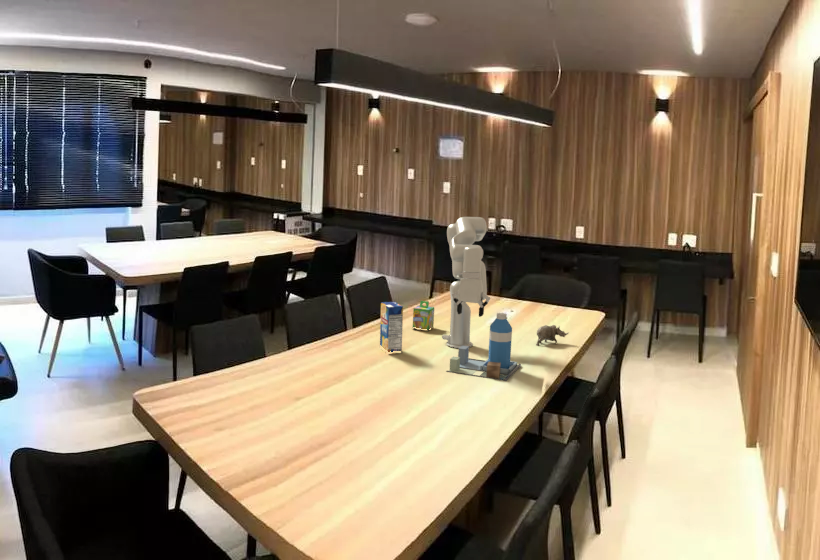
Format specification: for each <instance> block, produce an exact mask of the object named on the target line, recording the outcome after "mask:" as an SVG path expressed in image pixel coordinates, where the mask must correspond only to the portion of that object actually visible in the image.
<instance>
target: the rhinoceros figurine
mask: <svg viewBox="0 0 820 560" xmlns="http://www.w3.org/2000/svg"><path fill="white" fill-rule="evenodd" d="M560 327H561V326H558V327H557V325H554V324H552V325H546V324H545V325H543V326H540V327H538V328H537V330H536V336H537V337H538V339H537V342H536V344H535V346H538V347H540V346H539V345H540V344H543V343H542V342H543V341H544V343H547V342H548V341H549V342H550V341H551V342H554V344H555V343H557V344H558V340H557V339H556V336H559V337H563V338H565V337H566V336H567V335H569V333H570V332H565V331H564V330H561V329H560Z"/></svg>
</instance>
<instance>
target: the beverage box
mask: <svg viewBox="0 0 820 560" xmlns="http://www.w3.org/2000/svg"><path fill="white" fill-rule="evenodd" d="M403 313H404V306H403V305H401V304H399V303H398V302H397V301H383V302H380V324H379V325H380V328H379V330H380V331H379V334H380V335H379V337H380V338H379V346H380V345H381V346H382V347H383V348H384V349H385V350H387V351H388V352H390V351H391V352H393V351H402V350H403V325H404V324H403V320H404V319H403V318H404V317H403V315H404V314H403ZM402 352H403V351H402Z"/></svg>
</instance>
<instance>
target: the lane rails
mask: <svg viewBox="0 0 820 560" xmlns="http://www.w3.org/2000/svg"><path fill="white" fill-rule="evenodd" d="M468 360H475V361H482V362H485V361H486V360H483V359H477V358H470V357H468ZM521 367H522V363H517V366H516V367H515V368H514V369H513V370H512V371H511V372H510V373H509V374H503V373H500V376H499V378H493V377H486V376H487V371H484V370H477V369H470V368H464V367H460V368H461V369H468V370H475V371H476V372H481V374H479V375H478V374H473V375H472V374H465V373H459V372H453V371H449V370H446V371H445V372H447V373H452V374H458V375H464V376H470V377H471V376H473V377H479V378H484V379H491V380H497V381H498V380H499V381H504V382H507V381H508V380H510V378H511V377H512V376H514V374H515V373H516V372H517V371H518V370H519V369H520V368H521Z"/></svg>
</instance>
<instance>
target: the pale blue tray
mask: <svg viewBox="0 0 820 560" xmlns="http://www.w3.org/2000/svg"><path fill="white" fill-rule="evenodd" d="M469 351H470V348H469V346H461V347H460V348H458V351H457V353H458V355H457V357H460V367H464V368H470V369H477V370H484V371H487V364H488V358H487V359H486V360H484V361H485V362H483V361H476V360H468V358H470V357H469V356H470V355H469V354H470V352H469ZM517 365H518V362H517V361H512V360H510V368H509V369H504V368H500V373H503V374H509V373H510V372H511V371H512V370H513V369H514V368H515V367H516V366H517Z"/></svg>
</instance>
